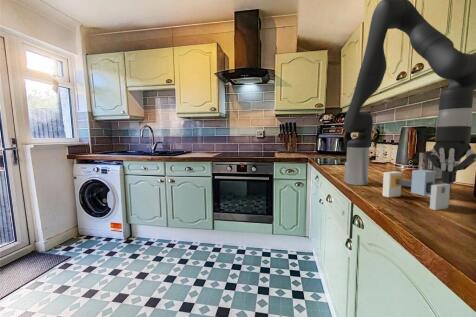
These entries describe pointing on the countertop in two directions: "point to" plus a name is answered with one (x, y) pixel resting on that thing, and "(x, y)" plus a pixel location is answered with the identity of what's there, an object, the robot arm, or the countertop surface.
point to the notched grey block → (422, 181)
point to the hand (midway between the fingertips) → (448, 183)
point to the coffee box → (431, 169)
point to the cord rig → (395, 181)
